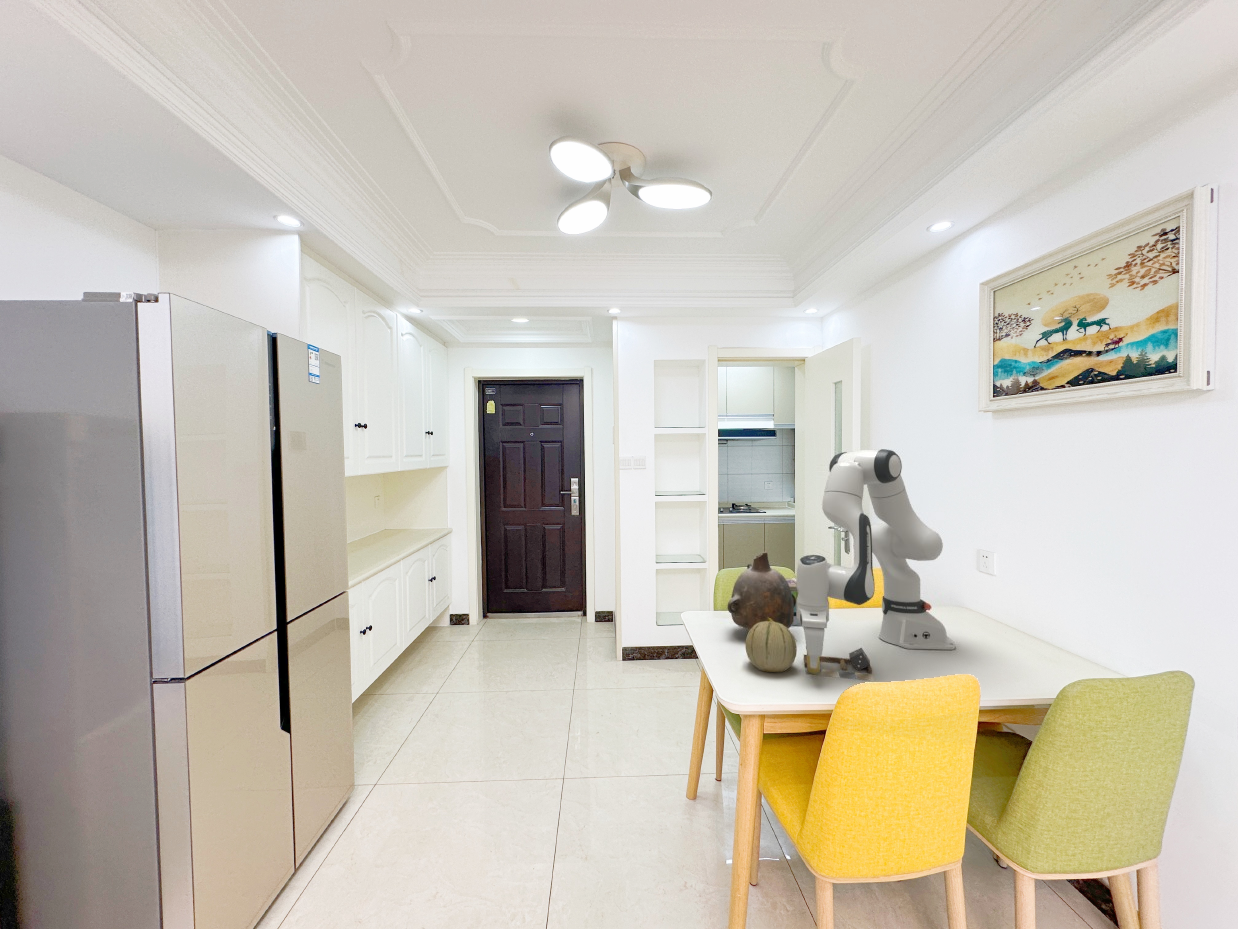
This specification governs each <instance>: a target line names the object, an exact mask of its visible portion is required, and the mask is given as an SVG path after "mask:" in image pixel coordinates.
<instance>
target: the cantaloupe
mask: <svg viewBox="0 0 1238 929" xmlns="http://www.w3.org/2000/svg"><path fill="white" fill-rule="evenodd" d="M767 620H769V621H764V622H759V623H757V624H756V625H754V626H753V627H752V628H751V629H750V630H748V633H747V635H746V639H745V651H746V656H747V658H748V660H749V661H750V662H751V664H752V665H753V666H754V667H755V668H756V669H758V670H760V671H761V672H765V673H766V672H767V673H783V672H785V671H787V670H788V669H790V668H791V667H792V665H793V664H794V662H795V660H796V657H797V650H798V649H797V648H798V646H797V641H796V639H795V636H794V635H793V633H792V631H791V630H790V629H789V628H787V627H786V626H784V625H783V624H780V623H777V622H774V621H773V620H772V619H770V618H767Z"/></svg>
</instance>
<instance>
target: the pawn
mask: <svg viewBox="0 0 1238 929" xmlns="http://www.w3.org/2000/svg"><path fill="white" fill-rule="evenodd" d="M805 649H806V651H807V648H806V647H805ZM806 655H807V672H809V673H812V674H818V673H820V669H821V668H820V665H821V664H820V662H821V661H820V660H819V657H818V660H817V668H811V667H810V656H809V655H808V654H807V653H806Z"/></svg>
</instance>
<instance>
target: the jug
mask: <svg viewBox="0 0 1238 929" xmlns="http://www.w3.org/2000/svg"><path fill="white" fill-rule="evenodd" d="M746 567H747V568H746V570H743V571H742V572H741V573H740V574H739V576H738V577H737V579H736V580H735V582H734V584H733V589H732V591H731V597H730V599H729V600H728V603H727V610H728V613H730V614H731V618H732V621H733V623H734V624H736V625H737V626H738V627H740V628H743V629H746V630H748V631H750V629H751V628H752V627H753V626H754V625H756V624H757V623H759V622H764V621H769V620H767V618H770V619H772V620H773V621H774V622H777V623H780V624H783V625H784V626H786V627H787V628H788V629H789V628H791V627H792V626H793V625H792V624H793V618H794V607H795V605H796V599H795V596H794V595H793V594H792V593H791V590H790V587H789V585H788V583H787V581H786V579H785V578H786V577H784V575H783V574H782V573H781V572H779V570H776V569H774V568H772V567H771V565H770V562H769V556H768V552H766V551H763V552H761V553H759V554H758V555H757V556H755V557H754V558H753V563H747V565H746Z"/></svg>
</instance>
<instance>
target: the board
mask: <svg viewBox="0 0 1238 929" xmlns="http://www.w3.org/2000/svg"><path fill="white" fill-rule="evenodd" d="M819 660H820V662H822V663H823V662H824V663H834V664H840V668H841V670H832V669H824V668H820V673H818V674H812V673H809V672H807V654H803V663H804V664H803V665H804V671H805V675H810V676H819V677H821V676H822V677H832V678H841V679H850V680H851V679H852V680H861V681H868V682H869V681H871V682H875V678H874V676H873V669H872V667H871V664H870V665H869V666H867V667H865V668H866V670H867V672H868V673H866V672H865V673H864V672H855V671H854V672H853V671H846V670H848V668H847V665H853V663H852V661H851V660H850V658H847V657H835V656H826V655H825V656H823V655H821V657H819Z"/></svg>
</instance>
